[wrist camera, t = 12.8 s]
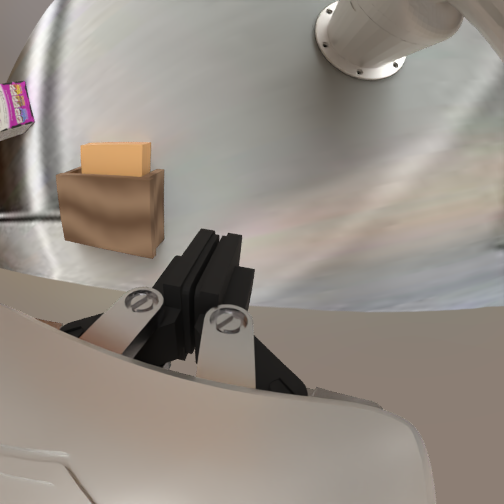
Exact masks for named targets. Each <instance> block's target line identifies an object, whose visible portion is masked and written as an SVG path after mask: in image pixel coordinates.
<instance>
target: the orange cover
mask: <svg viewBox="0 0 504 504" xmlns="http://www.w3.org/2000/svg"><path fill="white" fill-rule="evenodd" d="M150 156H151V143H148V142H102V143H88V144H84V145H81V171H82V174H104V175H121V176H136V177H142V176H144V175H146V174H148V173H150Z"/></svg>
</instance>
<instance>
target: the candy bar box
mask: <svg viewBox="0 0 504 504" xmlns="http://www.w3.org/2000/svg"><path fill="white" fill-rule="evenodd" d="M33 123H34V118H33V114H32V110H31V106H30V102H29V98H28V93H27V89H26V84H25V81H19V82H11V83H5V84H0V141H1V140H4V139H7V138H10V137H13V136H17V135H20V134H23V133H25V132H26V131H27V130H28V128H29V127H30V126H31V125H32V124H33Z"/></svg>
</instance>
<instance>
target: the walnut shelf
mask: <svg viewBox="0 0 504 504" xmlns="http://www.w3.org/2000/svg"><path fill="white" fill-rule="evenodd" d="M56 182H57V192H58V200H59V208H60V215H61V221H62V227H63V233H64V238H65V240H66V241H71V242H75V243H80V244H84V245H89V246H93V247H98V248H103V249H107V250H112V251H117V252H122V253H127V254H132V255H136V256H141V257H146V258H151V259H153V258H154V256H155V255H156V248H157V247H158V246H159V244H160V243H161V242H162V241H163V240H164V170H163V169H156V170H154V171H152V172H150V173H148V174H146V175H144V176H142V177H136V176H121V175H104V174H82V171H81V167H78V168H75V169H73V170H70V171H68V172H65V173H60V174H57V175H56Z"/></svg>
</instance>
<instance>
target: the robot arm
mask: <svg viewBox="0 0 504 504" xmlns="http://www.w3.org/2000/svg"><path fill="white" fill-rule="evenodd" d="M327 13H330V14H327ZM464 17H465V18H466V19H467V20H468V21H469V22H470V23H471V24H472V25H473V26H474V27H475V28H476V29H477V30H478V31H479V32H480V33H481V35H482V36H483V37H484V38H485V39H486V41H487V42H488V43H489V44H490V46H491V47H492V48H493V49H494V51H495V52H496V53H497V55H498V56H499V57H500V59H501V60H502V62H503V63H504V0H339V1H337V2H334V3H332V4H330V5H328V6H327V7H325V8H324V9H323V11H322V12H321V13H320V15H319V16H318V18H317V21H316V26H315V36H316V41H317V44H318V46H319V48H320V50H321V52H322V54H323V55H324V56H325V57H326V59H327V60H328V61H329V62H330V63H331V64H332V65H333V66H335V67H336V68H337V69H339V70H340V71H342V72H344V73H346V74H348V75H350V76H352V77H355V78H358V79H364V80H379V79H384V78H386V77H389V76H391V75H393V74H395V73H396V72H397V71H398V70H399V69H400V68H401V67H402V65H403V63H404V61H405V58H406V56H407V55H410V54H412V53H415V52H417V51H419V50H422V49H424V48H427V47H429V46H432V45H435V44H437V43H440V42H442V41H445V40H447V39H449V38H450V37H452V36H453V35H454V34H455V33H456V32H457V31H458V29H459V28H460V26H461V24H462V21H463V18H464ZM323 45H326V46H327V47H326V48H325V47H323ZM393 65H394V66H395V67H393ZM357 71H359V72H360V74H357ZM241 243H242V235H238V234H232V233H228V235H227V236H222V238H221V240H220V242H219V235H216V234H215V231H213V230H207V229H201V230H200V231H199V232H198V234H197V235H196V236H195V238H194V239H193V241H192V242H191V243H190V245H189V246H188V248H187V249H186V250H185V252H184V253H183V255H182V256H175V257H174V258H173V260H172V261H171V262H170V264H169V265H168V266H167V268H166V269H165V271H164V272H163V273H162V275H161V276H160V278H159V279H158V280H157V282H156V283H155V285H154V286H153V287H152V288H149V287H138V288H134V289H131V290H129V291H127V292H126V293H125V294H124V295H122V296H121V297H120V298H119V299H118V300H117V301H116V302H115V303H114V304H113V305H112V306H111V307H110V308H109V309H108V310H107V311H106V312H105V313H102V314H98V315H95V316H91V317H88V318H84V319H81V320H77V321H74V322H71V323H68V324H66V325H64V326H63V324H62V323H58V322H52V321H47V320H42V319H37V318H33V317H31V316H29V315H27V314H25V313H23V312H21V311H19V310H16V309H14V308H12V307H10V306H7V305H4V304H2V303H0V504H436V496H435V487H434V480H433V474H432V469H431V464H430V460H429V456H428V453H427V450H426V447H425V444H424V441H423V439H422V437H421V435H420V434H419V432H418V430H417V429H416V428H415V427H414V425H412V424H411V423H410V422H409V421H407V420H406V419H404V418H402V417H400V416H398V415H396V414H394V413H391V412H389V411H386V410H383V408H382V407H381V406H379V405H378V404H377V403H375V402H372V401H369V400H365V399H360V398H356V397H352V396H348V395H344V394H340V393H336V392H332V391H328V390H325V389H322V388H318V387H316V389H315V390H313V389H310V388H306V386H305V385H304V384H303V382H302V381H301V380H300V379H299V378H298V377H297V376H296V375H295V374H294V373H293V372H292V371H291V370H289V369H288V368H287V367H286V366H285V365H284V364H283V363H282V362H281V361H280V360H279V359H278V358H277V357H276V356H275V355H274V354H273V353H272V352H270V350H269V349H267V348H266V346H265V345H263V344H262V343H261V342H260V341H259V340H258V339H257V338H256V337H255V336H254V330H253V319H252V316H251V315H250V314H249V312H248V307H249V303H250V297H251V292H252V285H253V279H254V272H255V269H251V268H245V267H239V260H240V252H241ZM194 349H195V356H196V364H197V370H196V377H194V376H190V375H186V374H182V373H179V372H175V371H171V370H169V369H170V367H171V361H173V360H176V359H180V360H184V361H185V359H186V356H187V354H188V353H190V354H192V353H193V351H194Z"/></svg>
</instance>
